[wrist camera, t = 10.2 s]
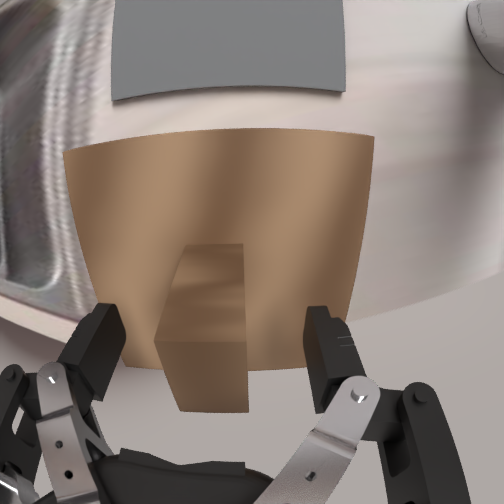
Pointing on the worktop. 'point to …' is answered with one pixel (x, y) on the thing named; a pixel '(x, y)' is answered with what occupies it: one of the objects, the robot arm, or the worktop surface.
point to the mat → (226, 45)
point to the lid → (221, 247)
